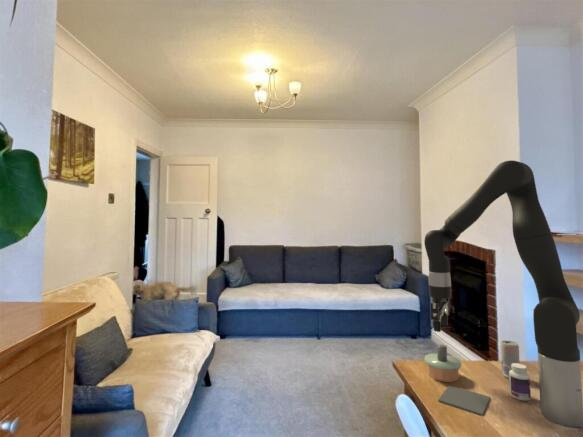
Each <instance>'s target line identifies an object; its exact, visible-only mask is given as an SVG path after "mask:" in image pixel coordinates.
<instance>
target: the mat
mask: <svg viewBox="0 0 583 437" xmlns="http://www.w3.org/2000/svg"><path fill="white" fill-rule="evenodd" d="M437 400H438V401H437V402H439V403H442V404H446V405H449V406H452V407H455V408H458V409H461V410H464V411H467V412H470V413H473V414H476V415H479V416H482V417H483V416H484V414H485V411H486V410H487V406H488V404H489V402H490V400H491V396H489V395H487V394H482V393H479V392H476V391H472V390H469V389H465V388H461V387H458V386H454V385H452V384H449V385H448V386H447V387H446V389H445V390H444V391H443V393H441V395H440V396H439V398H438V399H437Z"/></svg>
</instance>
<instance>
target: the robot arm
mask: <svg viewBox="0 0 583 437" xmlns="http://www.w3.org/2000/svg"><path fill="white" fill-rule="evenodd" d="M505 194H506V195H507V198H508V200H509V203H510V206H511V211H512V223H511V224H512V236H513V239H514V243H515V247H516V249H517V250H516V251H517V252H518V255H519V258H520V259H521V261H522V263H523V265H524V266H525V268H526V270H527V271H528V272H529V274H530V276H531V278H532V279H533V282H534V285H535V288H536V293H537V297H538V303H537V304H536V305H535V307H534V309H533V330H534V341H535V344H536V346H537V347H536V348H537V364H538V367H537V368H538V384H539V402H540V403H539V407H540V413H541V415H542V416H543V417H545V418H546V419H547V420H549V421H552V422H553V423H556V424H559V425H561V426H566V427H572V428H576V427H577V428H581V429H583V386H582V371H581V369H582V368H581V366H582V365H581V350H580V349H579V345H578V335H577V334H578V333H577V325H578V323H579V322H580V318H581V317H580V310H579V308H578V306H577V303H576V302H575V300H574V297H573V295H572V293H571V292H570V289H569V287H568V284H567V282H566V280H565V278H564V277H565V276H564V273H563V268H562V263H561V260H560V257H559V252H558V249H557V246H556V243H555V240H554V239H555V238H554V237H553V234H552V231H551V228H550V225H549V223H548V221H547V217H546V216H545V212H544V210H543V208H542V206H541V204H540V200H539V197H538V196H539V195H538V191H537V185H536V181H535V175H534V171H533V170H532V168H531V167H530V166H529V165H528V164H526V163H525V162H521V161H517V160H505V161H502V162H500V163H499V164H498V165H497V166H495V168H494V169H493V170H492V171H491V172H490V174H489V175H488V176H487V177H486V179H485V180H484V181H483V182H482V184H481V185H480V186H479V187H478V188H477V189H476V190H475V191H474V193H472V195H471V196H470V197H469V198H468V199H467V200H466V201H465V202H464V203H463V204H461V205H460V206H459V207H458V208H457V209H456V210H455V211H453V213H451V214H450V215H449V216H448V217H447V218H446V219H445V221H444V225H443V226H442V227H440V229H432V230H429V231H428V232H426V235H425V236H424V241H423V242H424V248H425V252H426V256H427V258H428V296H429V297H431V298H433V302H431V303H430V320H432V321H433V331H434V332H438V333H440V332H441V331H442V327H441V326H445V327H448V324H449V322H448V321H449V320H448V316H449V314H450V312H451V310H450V309H451V308H450V298H452V278H451V264H450V258H449V257H448V256H446V255H445V249H446V248H449V247H450V246H451V245H452V244H454V243H455V241H457V239H458V238H459V237H460V235H461V234H462V233H464V232H465V231H466V230H468V228H470V227H471V226H473V224H475V222H477V221H478V220H479V219H480V217H482V215H483V214H484V213H485V211H486V210H487V209H488V208H489V207H490V206H491V204H492V203H494V202H495V201H496V200H497V199H498V198H500V197H502V196H503V195H505Z"/></svg>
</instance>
